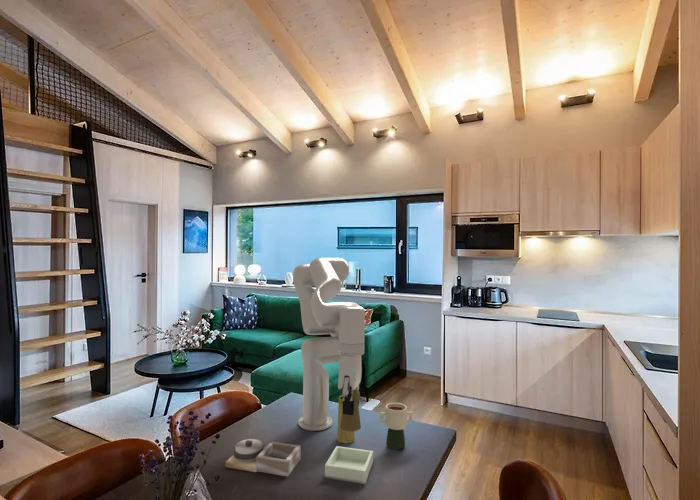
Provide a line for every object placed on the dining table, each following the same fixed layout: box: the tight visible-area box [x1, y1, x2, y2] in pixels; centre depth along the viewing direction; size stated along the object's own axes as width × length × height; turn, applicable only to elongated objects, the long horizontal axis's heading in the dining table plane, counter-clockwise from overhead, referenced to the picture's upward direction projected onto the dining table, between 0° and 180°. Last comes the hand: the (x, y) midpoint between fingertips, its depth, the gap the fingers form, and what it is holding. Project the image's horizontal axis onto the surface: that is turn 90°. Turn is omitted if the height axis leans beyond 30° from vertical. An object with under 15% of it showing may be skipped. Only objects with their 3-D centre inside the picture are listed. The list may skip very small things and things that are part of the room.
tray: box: [324, 445, 374, 485], centre depth 115 cm, size 12×12×4 cm
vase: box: [336, 395, 356, 445], centre depth 134 cm, size 6×6×14 cm
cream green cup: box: [379, 402, 413, 450], centre depth 130 cm, size 11×7×13 cm, turn 95°
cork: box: [340, 388, 362, 432], centre depth 116 cm, size 6×6×11 cm
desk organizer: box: [225, 438, 302, 477], centre depth 119 cm, size 11×20×6 cm, turn 76°
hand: (350, 409), depth 116 cm, fingers closed on cork, 5 cm apart
